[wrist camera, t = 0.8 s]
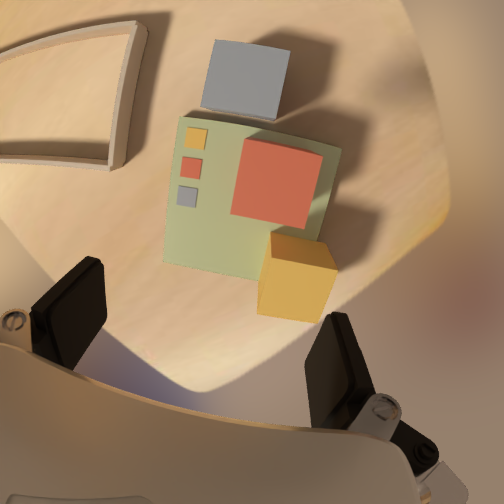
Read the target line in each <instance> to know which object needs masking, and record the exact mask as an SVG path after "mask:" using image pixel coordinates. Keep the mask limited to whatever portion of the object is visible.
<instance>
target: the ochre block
mask: <svg viewBox="0 0 504 504" xmlns="http://www.w3.org/2000/svg"><path fill="white" fill-rule="evenodd" d="M337 273H338V269H337V267H336V264H335V262H334V260H333V258H332V256H331V254H330V252H329V250H328V247H327V245H326V243H321V242H317V241H312V240H307V239H303V238H298V237H293V236H288V235H283V234H279V233H274V232H270V235H269V240H268V244H267V248H266V252H265V256H264V260H263V265H262V269H261V273H260V277H259V281H258V301H257V314H260V315H265V316H271V317H277V318H283V319H290V320H296V321H302V322H309V323H316V324H318V321H319V319H320V317H321V314H322V312H323V309H324V307H325V304H326V302H327V299H328V297H329V294H330V292H331V289H332V286H333V284H334V281H335V279H336V276H337Z"/></svg>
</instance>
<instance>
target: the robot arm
mask: <svg viewBox="0 0 504 504" xmlns="http://www.w3.org/2000/svg"><path fill="white" fill-rule="evenodd" d="M31 310H32V311H31V312H30V313H29V314H28V313H27V312H26V311H25V310H22V309H12V310H9V311H7V312H5V313H4V314H3V315H2V316H1V317H0V504H466V502H467V500H468V489H467V488H466V486H465V485H464V484H463V483H462V482H461V480H460V479H459V478H458V477H457V476H456V475H455V474H454V473H453V471H452V470H451V469H450V468H449V467H448V466H447V465H446V464H445V462H444V461H442V462H439V461H438V458H439V451H438V448H437V446H436V445H435V443H433V442H432V441H431V440H430V439H428V438H427V437H425V436H424V435H422V434H421V433H419V432H418V431H416V430H415V429H413V428H412V427H410V426H409V425H407V424H406V423H404V422H403V421H401V420H400V418H401V414H402V412H401V407H400V405H399V403H398V402H397V401H396V400H395V399H394V398H392V397H391V396H389V395H387V394H382V393H379V394H376V392H375V389H374V387H373V383H372V380H371V377H370V374H369V372H368V368H367V365H366V363H365V360H364V357H363V354H362V351H361V350H360V348H359V346H358V342H357V340H356V337H355V334H354V332H353V329H352V326H351V323H350V321H349V318H348V316H347V314H346V313H340V312H332V313H331V314H327V316H326V318H325V320H324V322H323V324H322V327H321V329H320V331H319V333H318V335H317V337H316V339H315V341H314V344H313V346H312V348H311V350H310V352H309V354H308V356H307V358H306V360H305V375H306V383H307V391H308V400H309V408H310V417H311V426H312V428H309V427H296V426H286V425H276V424H267V423H259V422H252V421H245V420H239V419H233V418H227V417H222V416H216V415H212V414H206V413H202V412H198V411H193V410H189V409H185V408H181V407H177V406H173V405H169V404H165V403H162V402H158V401H154V400H151V399H148V398H144V397H141V396H138V395H135V394H132V393H129V392H126V391H123V390H120V389H117V388H114V387H112V386H109V385H106V384H104V383H101V382H98V381H96V380H93V379H91V378H88V377H86V376H83V375H81V374H79V373H76V372H74V371H73V369H74V368H75V366H76V365H77V363H78V362H79V360H80V358H81V357H82V356H83V354H84V352H85V351H86V349H87V348H88V346H89V345H90V343H91V342H92V340H93V339H94V338H95V336H96V335H97V333H98V332H99V330H100V329H101V327H102V326H103V325H104V323H105V322H106V319H107V306H106V294H105V279H104V265H103V264H102V263H101V261H100V259H98V258H94V257H90V256H87V257H85V258H84V259H83V260H82V261H81V262H79V263H78V264H77V265H76V266H75V267H74V268H73V269H71V270H70V271H69V272H68V273H67V274H66V275H65V276H64V277H63V278H61V279H60V280H59V281H58V282H57V283H56V284H55V285H54V286H53V287H52V288H51V289H50V290H49V291H47V293H45V294H44V295H43V296H42V297H41V298H40V299H39V300H38V301H37V302H36V303H35V304H34V305H33V306H32V307H31Z"/></svg>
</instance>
